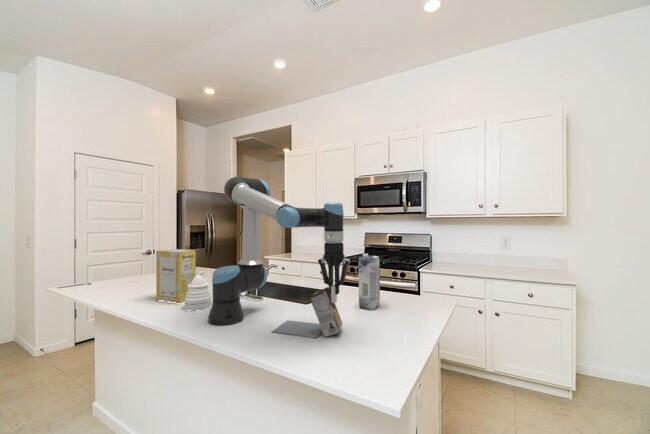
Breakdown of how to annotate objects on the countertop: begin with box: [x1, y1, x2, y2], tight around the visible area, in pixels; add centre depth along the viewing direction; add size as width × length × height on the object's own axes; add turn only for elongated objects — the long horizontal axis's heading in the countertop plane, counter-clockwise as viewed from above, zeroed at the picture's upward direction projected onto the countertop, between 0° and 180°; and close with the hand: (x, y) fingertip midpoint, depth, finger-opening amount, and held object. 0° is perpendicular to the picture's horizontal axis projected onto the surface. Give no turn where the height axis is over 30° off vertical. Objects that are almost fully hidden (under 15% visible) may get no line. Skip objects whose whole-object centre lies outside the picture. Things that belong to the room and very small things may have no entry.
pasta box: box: [155, 248, 197, 303], centre depth 167 cm, size 18×10×28 cm, turn 66°
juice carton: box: [357, 253, 381, 311], centre depth 151 cm, size 9×10×27 cm
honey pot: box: [184, 271, 213, 312], centre depth 152 cm, size 13×13×18 cm
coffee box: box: [309, 286, 343, 337], centre depth 117 cm, size 9×6×16 cm
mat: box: [271, 319, 323, 340], centre depth 121 cm, size 19×14×1 cm
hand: (334, 302), depth 116 cm, fingers closed
